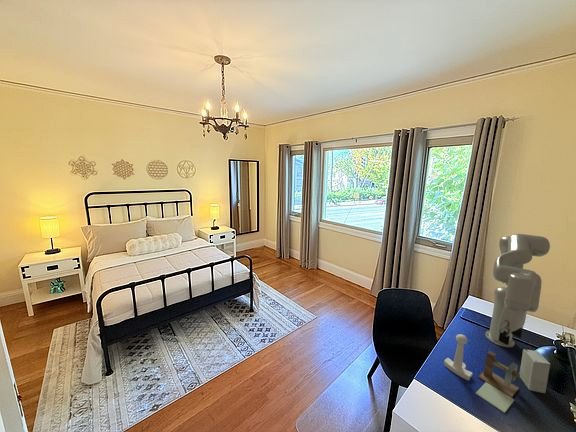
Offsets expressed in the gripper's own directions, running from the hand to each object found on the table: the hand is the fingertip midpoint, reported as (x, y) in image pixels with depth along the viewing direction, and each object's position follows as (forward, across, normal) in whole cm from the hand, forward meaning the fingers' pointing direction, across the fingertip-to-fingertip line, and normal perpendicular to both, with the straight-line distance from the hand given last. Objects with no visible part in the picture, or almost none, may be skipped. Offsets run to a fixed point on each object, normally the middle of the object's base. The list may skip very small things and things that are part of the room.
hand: (509, 339), depth 103 cm
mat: (+25, +8, +2) cm, 26 cm away
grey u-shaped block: (+21, -2, +2) cm, 21 cm away
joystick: (+25, +7, -14) cm, 30 cm away
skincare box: (+25, -14, +5) cm, 30 cm away
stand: (+25, -2, -1) cm, 25 cm away
